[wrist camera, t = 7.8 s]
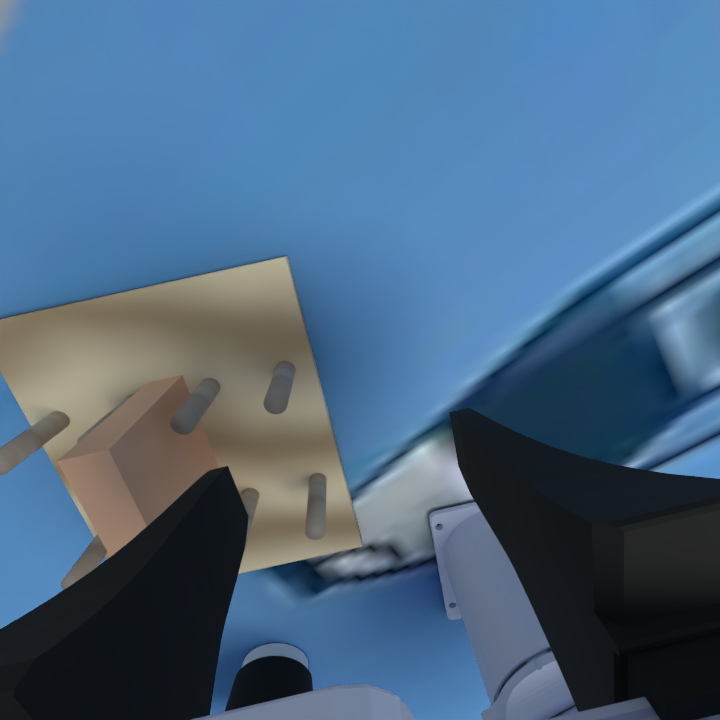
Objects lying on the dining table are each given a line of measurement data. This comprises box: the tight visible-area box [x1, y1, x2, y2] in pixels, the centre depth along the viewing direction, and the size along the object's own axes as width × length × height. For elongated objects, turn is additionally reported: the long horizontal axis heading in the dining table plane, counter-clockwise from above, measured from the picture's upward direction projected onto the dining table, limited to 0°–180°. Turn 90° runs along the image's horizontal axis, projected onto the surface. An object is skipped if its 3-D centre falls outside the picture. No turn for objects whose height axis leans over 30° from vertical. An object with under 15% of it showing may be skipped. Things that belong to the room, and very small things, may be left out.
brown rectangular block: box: [57, 375, 219, 557], centre depth 18 cm, size 9×2×7 cm, turn 12°
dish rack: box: [0, 256, 362, 590], centre depth 20 cm, size 18×15×5 cm
